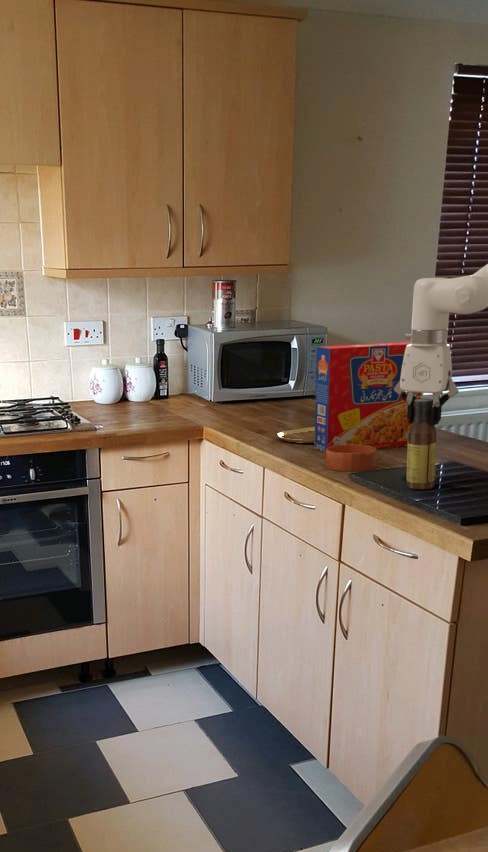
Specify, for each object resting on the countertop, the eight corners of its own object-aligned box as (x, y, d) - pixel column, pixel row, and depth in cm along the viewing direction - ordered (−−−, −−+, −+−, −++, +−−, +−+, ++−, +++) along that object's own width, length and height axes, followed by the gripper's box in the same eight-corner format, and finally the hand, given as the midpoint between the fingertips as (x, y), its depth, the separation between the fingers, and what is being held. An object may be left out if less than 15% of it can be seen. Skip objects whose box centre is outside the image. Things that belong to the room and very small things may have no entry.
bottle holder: (384, 464, 224) (384, 446, 222) (362, 473, 214) (363, 455, 213) (339, 459, 231) (339, 442, 230) (316, 468, 222) (316, 450, 220)
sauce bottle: (426, 483, 202) (433, 396, 195) (439, 489, 196) (446, 400, 189) (399, 485, 201) (405, 398, 194) (411, 491, 195) (418, 401, 188)
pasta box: (326, 453, 240) (330, 348, 231) (314, 448, 247) (316, 346, 238) (417, 445, 247) (424, 343, 238) (402, 441, 254) (408, 341, 245)
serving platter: (394, 433, 265) (395, 428, 265) (304, 447, 249) (304, 442, 248) (352, 426, 281) (352, 421, 280) (264, 438, 264) (264, 433, 264)
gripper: (384, 338, 190) (380, 423, 196) (461, 340, 180) (454, 428, 186) (398, 336, 195) (394, 418, 201) (474, 337, 186) (467, 423, 191)
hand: (423, 422), depth 194 cm, fingers closed on sauce bottle, 4 cm apart
